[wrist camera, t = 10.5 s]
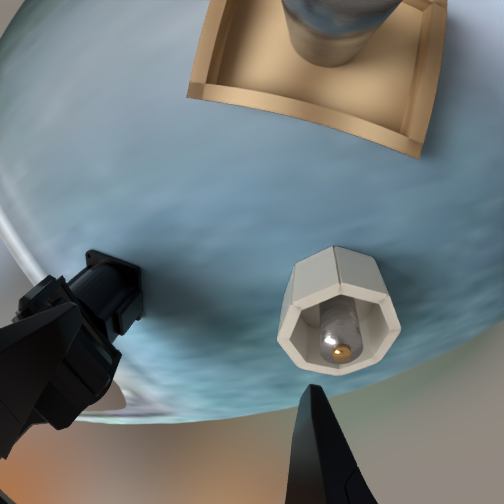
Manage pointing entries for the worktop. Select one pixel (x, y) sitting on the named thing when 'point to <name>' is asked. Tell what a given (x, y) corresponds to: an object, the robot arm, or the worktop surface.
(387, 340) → the cup
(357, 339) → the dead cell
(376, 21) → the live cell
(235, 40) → the wooden tray
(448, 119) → the worktop surface
